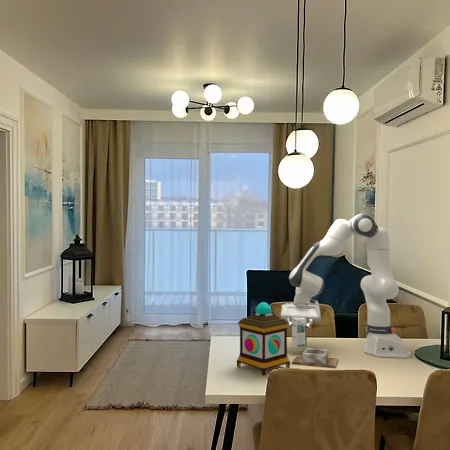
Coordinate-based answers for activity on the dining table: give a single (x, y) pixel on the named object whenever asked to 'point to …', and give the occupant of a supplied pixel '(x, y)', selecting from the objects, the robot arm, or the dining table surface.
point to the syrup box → (299, 332)
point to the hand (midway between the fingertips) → (298, 326)
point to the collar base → (315, 358)
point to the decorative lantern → (263, 340)
